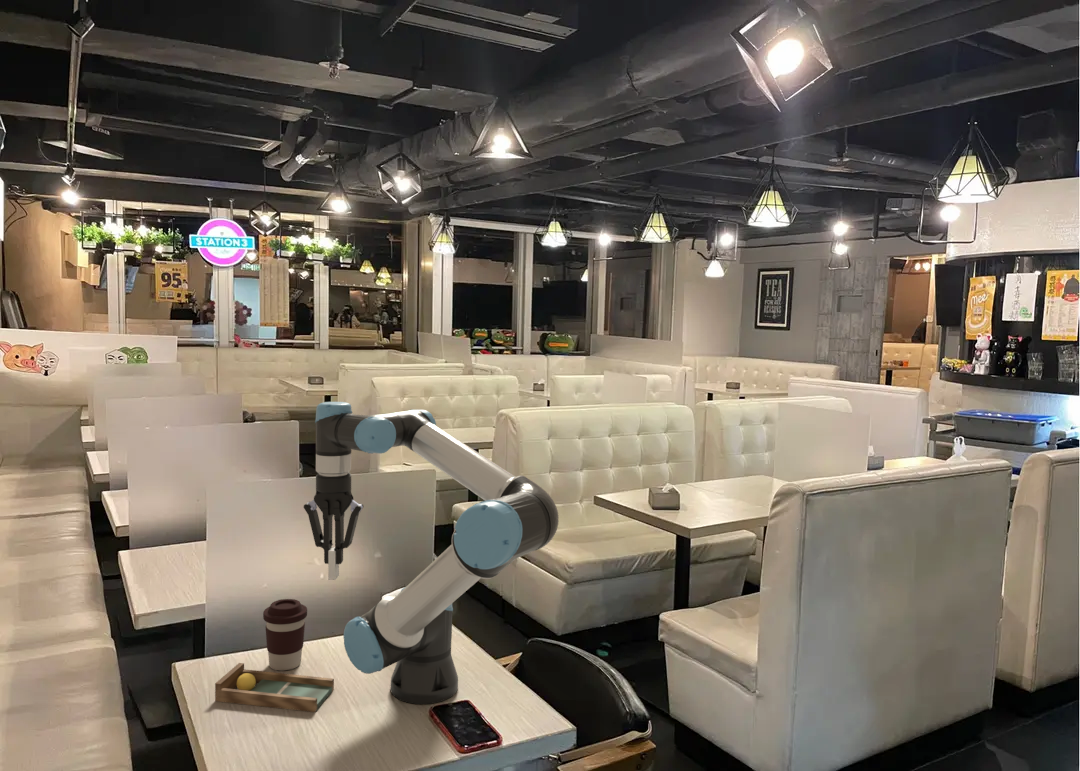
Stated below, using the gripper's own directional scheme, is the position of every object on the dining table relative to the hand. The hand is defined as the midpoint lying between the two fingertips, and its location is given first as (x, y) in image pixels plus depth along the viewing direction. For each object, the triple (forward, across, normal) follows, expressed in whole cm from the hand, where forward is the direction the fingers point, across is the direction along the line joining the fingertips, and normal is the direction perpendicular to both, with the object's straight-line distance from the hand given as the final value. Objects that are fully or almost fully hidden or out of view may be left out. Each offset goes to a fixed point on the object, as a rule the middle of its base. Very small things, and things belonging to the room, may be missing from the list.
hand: (333, 577), depth 174 cm
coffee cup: (+26, +15, -11) cm, 32 cm away
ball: (+24, +19, +3) cm, 30 cm away
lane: (+26, +11, +4) cm, 28 cm away
